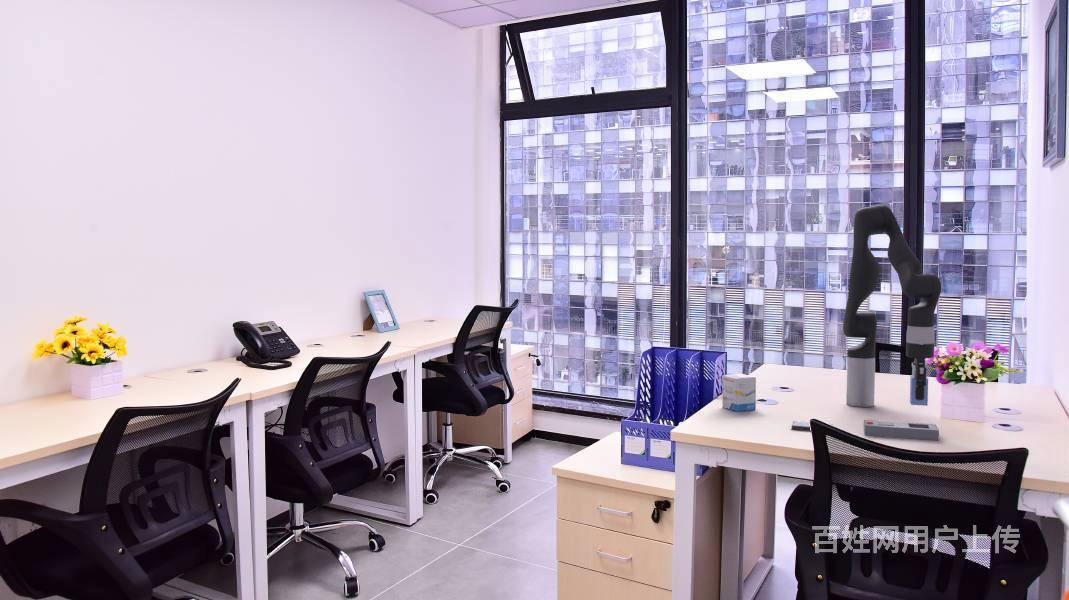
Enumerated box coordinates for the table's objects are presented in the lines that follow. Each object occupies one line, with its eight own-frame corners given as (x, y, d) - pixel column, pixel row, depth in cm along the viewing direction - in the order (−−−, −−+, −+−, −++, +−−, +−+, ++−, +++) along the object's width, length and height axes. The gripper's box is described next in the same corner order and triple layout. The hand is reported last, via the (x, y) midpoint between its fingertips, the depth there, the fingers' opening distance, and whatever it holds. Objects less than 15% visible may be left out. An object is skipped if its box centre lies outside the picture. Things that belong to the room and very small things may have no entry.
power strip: (863, 429, 244) (863, 418, 243) (935, 434, 236) (935, 422, 236) (864, 435, 236) (864, 423, 236) (938, 440, 229) (939, 428, 229)
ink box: (756, 409, 273) (756, 376, 272) (736, 411, 270) (736, 378, 269) (741, 405, 281) (741, 372, 280) (721, 407, 278) (721, 374, 277)
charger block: (909, 402, 236) (910, 374, 236) (926, 402, 235) (926, 375, 234) (911, 404, 232) (911, 377, 232) (927, 405, 231) (928, 378, 230)
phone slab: (792, 424, 251) (792, 420, 250) (832, 427, 246) (832, 423, 246) (791, 429, 244) (791, 425, 244) (832, 432, 240) (832, 428, 240)
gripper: (904, 338, 240) (903, 393, 241) (908, 343, 227) (906, 401, 228) (931, 338, 238) (930, 394, 239) (937, 344, 224) (935, 403, 225)
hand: (918, 397), depth 233 cm, fingers closed on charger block, 4 cm apart
